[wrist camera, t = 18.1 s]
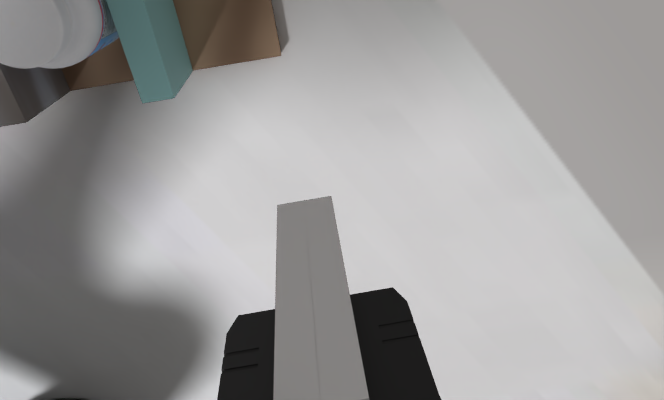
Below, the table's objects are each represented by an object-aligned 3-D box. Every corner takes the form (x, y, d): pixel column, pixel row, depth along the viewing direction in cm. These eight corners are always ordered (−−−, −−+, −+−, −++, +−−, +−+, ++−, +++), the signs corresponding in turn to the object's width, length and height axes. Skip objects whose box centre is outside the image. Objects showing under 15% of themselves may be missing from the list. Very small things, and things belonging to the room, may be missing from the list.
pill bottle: (54, 40, 34) (-40, 81, 24) (35, -58, 31) (-81, -56, 21) (142, 45, 34) (87, 87, 25) (132, -50, 32) (63, -45, 22)
